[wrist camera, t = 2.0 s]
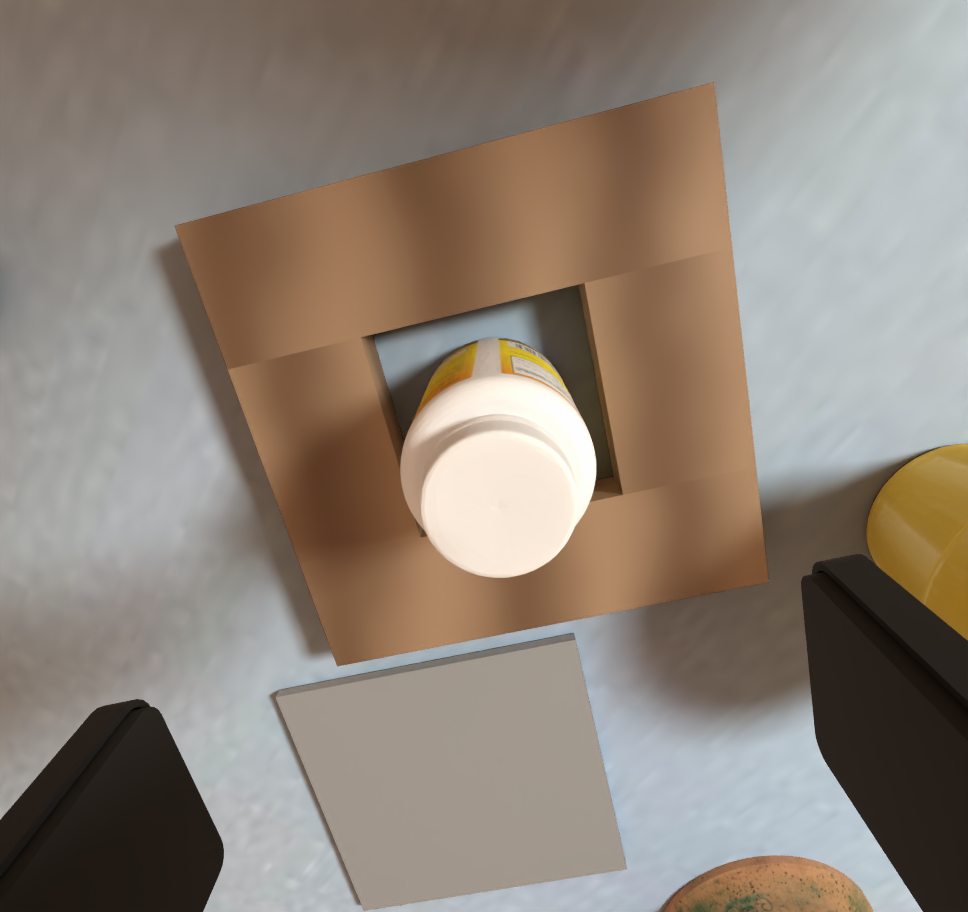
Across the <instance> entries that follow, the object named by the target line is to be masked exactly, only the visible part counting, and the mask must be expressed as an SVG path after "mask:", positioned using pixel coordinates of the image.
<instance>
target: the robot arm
mask: <svg viewBox="0 0 968 912" xmlns="http://www.w3.org/2000/svg"><path fill="white" fill-rule="evenodd" d="M801 589H802V599H803V610H804V620H805V631H806V641H807V652H808V662H809V673H810V684H811V694H812V705H813V715H814V726H815V734H816V739H817V743H818V746H819V749H820V751H821V754H822V756H823V758H824V760H825V762H826V763H827V765H828V767H829V768H830V770H831V771H832V773H833V774H834V776H835V777H836V779H837V780H838V782H839V784H840V785H841V787H842V788H843V790H844V791H845V793H846V794H847V796H848V797H849V799H850V800H851V802H852V803H853V805H854V807H855V808H856V810H857V811H858V813H859V814H860V816H861V817H862V819H863V820H864V822H865V823H866V825H867V826H868V828H869V830H870V831H871V833H872V834H873V836H874V837H875V839H876V840H877V842H878V843H879V845H880V846H881V848H882V849H883V851H884V853H885V854H886V856H887V857H888V859H889V860H890V862H891V863H892V865H893V866H894V868H895V869H896V871H897V872H898V874H899V876H900V877H901V879H902V880H903V882H904V883H905V885H906V886H907V888H908V889H909V891H910V892H911V894H912V895H913V897H914V899H915V900H916V902H917V903H918V905H919V906H920V908H921V909H922V911H923V912H968V640H966V639H965V638H964V637H963V636H962V635H960V634H959V633H958V632H957V631H955V630H954V629H953V628H952V627H951V626H949V625H948V624H947V623H946V622H945V621H943V620H942V619H941V618H940V617H938V616H937V615H936V614H935V613H934V612H932V611H931V610H930V609H929V608H927V607H926V606H925V605H924V604H923V603H921V602H920V601H919V600H918V599H917V598H915V597H914V596H913V595H912V594H910V593H909V592H908V591H907V590H906V589H904V588H903V587H902V586H901V585H900V584H898V583H897V582H896V581H895V580H893V579H892V578H891V577H890V576H889V575H887V574H886V573H885V572H884V571H883V570H881V569H880V568H879V567H878V566H876V565H875V564H874V563H873V562H872V561H870V560H869V559H868V558H867V557H865V556H863V555H862V554H856V555H851V556H846V557H841V558H836V559H831V560H826V561H821V562H816V563H815V564H814V566H813V570H812V575H807V576H804V577H803V578H802V581H801ZM223 859H224V848H223V843H222V840H221V837H220V835H219V833H218V831H217V829H216V827H215V825H214V823H213V821H212V819H211V817H210V814H209V812H208V810H207V808H206V806H205V804H204V802H203V800H202V798H201V796H200V794H199V792H198V789H197V787H196V785H195V783H194V781H193V779H192V777H191V775H190V773H189V771H188V769H187V766H186V764H185V762H184V760H183V758H182V756H181V754H180V752H179V750H178V748H177V746H176V744H175V741H174V739H173V737H172V735H171V733H170V731H169V729H168V727H167V725H166V723H165V721H164V718H163V716H162V714H161V713H160V711H159V710H158V709H156V708H155V707H150V706H149V704H148V703H146V702H145V701H144V700H139V699H136V700H131V701H126V702H121V703H116V704H111V705H106V706H102V707H99V708H97V709H96V710H95V711H94V712H92V713H91V714H90V716H89V717H88V718H87V719H86V720H85V721H84V723H83V724H82V725H81V726H80V727H79V729H78V730H77V731H76V732H75V733H74V734H73V736H72V737H71V738H70V739H69V740H68V741H67V743H66V744H65V745H64V746H63V747H62V748H61V750H60V751H59V752H58V753H57V754H56V755H55V757H54V758H53V759H52V760H51V761H50V762H49V764H48V765H47V766H46V767H45V768H44V769H43V771H42V772H41V773H40V774H39V775H38V776H37V778H36V779H35V780H34V781H33V782H32V784H31V785H30V786H29V787H28V788H27V789H26V791H25V792H24V793H23V794H22V795H21V796H20V798H19V799H18V800H17V801H16V802H15V803H14V805H13V806H12V807H11V808H10V809H9V810H8V812H7V813H6V814H5V815H4V816H3V817H2V819H1V820H0V912H203V910H204V908H205V906H206V904H207V901H208V899H209V897H210V894H211V892H212V890H213V887H214V885H215V883H216V880H217V878H218V876H219V873H220V871H221V868H222V865H223Z"/></svg>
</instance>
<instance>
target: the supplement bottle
mask: <svg viewBox="0 0 968 912" xmlns="http://www.w3.org/2000/svg"><path fill="white" fill-rule="evenodd" d="M400 475H401V483H402V489H403V493H404V496H405V499H406V502H407V504H408V507H409V509H410V511H411V513H412V514H413V516H414V517H415V519H416V520H417V522H418V523H419V525H420V526H421V527H422V528H423V529H424V531H425V532H426V534H427V536H428V538H429V540H430V542H431V543H432V544H433V546H434V547H435V548H436V550H437V551H438V552H439V553H440V554H441V555H442V556H443V557H444V558H445V559H447V560H448V561H449V562H450V563H452V564H453V565H455V566H457V567H458V568H460V569H462V570H465V571H467V572H469V573H472V574H475V575H479V576H484V577H492V578H508V577H514V576H519V575H523V574H526V573H529V572H531V571H534V570H536V569H538V568H540V567H541V566H543V565H545V564H546V563H548V562H549V561H550V560H552V559H553V558H554V557H555V556H556V555H557V554H558V553H559V552H560V551H561V549H562V548H563V547H564V546H565V545H566V543H567V542H568V540H569V538H570V536H571V534H572V532H573V530H574V527H575V526H576V524H577V523H578V522H579V520H580V519H581V518H582V516H583V515H584V513H585V511H586V509H587V507H588V505H589V502H590V500H591V497H592V494H593V490H594V486H595V480H596V457H595V450H594V446H593V443H592V439H591V437H590V434H589V431H588V429H587V427H586V425H585V423H584V421H583V419H582V417H581V415H580V413H579V411H578V409H577V407H576V406H575V404H574V401H573V399H572V397H571V395H570V394H569V392H568V390H567V388H566V386H565V385H564V383H563V381H562V378H561V376H560V375H559V373H558V371H557V370H556V369H555V367H554V366H553V365H552V363H551V362H550V361H549V360H548V359H547V358H546V357H545V356H544V355H543V354H541V353H540V352H539V351H537V350H536V349H534V348H533V347H531V346H529V345H527V344H524V343H522V342H519V341H516V340H512V339H506V338H486V339H481V340H476V341H473V342H471V343H468V344H466V345H464V346H462V347H460V348H458V349H457V350H455V351H454V352H453V353H451V354H450V355H449V356H448V357H447V358H446V359H445V360H444V361H442V363H441V364H440V365H439V366H438V367H437V369H436V371H435V372H434V374H433V376H432V377H431V379H430V382H429V384H428V386H427V389H426V391H425V393H424V396H423V398H422V401H421V403H420V405H419V408H418V410H417V412H416V415H415V417H414V419H413V422H412V424H411V426H410V428H409V431H408V433H407V436H406V439H405V442H404V445H403V449H402V455H401V465H400Z"/></svg>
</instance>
